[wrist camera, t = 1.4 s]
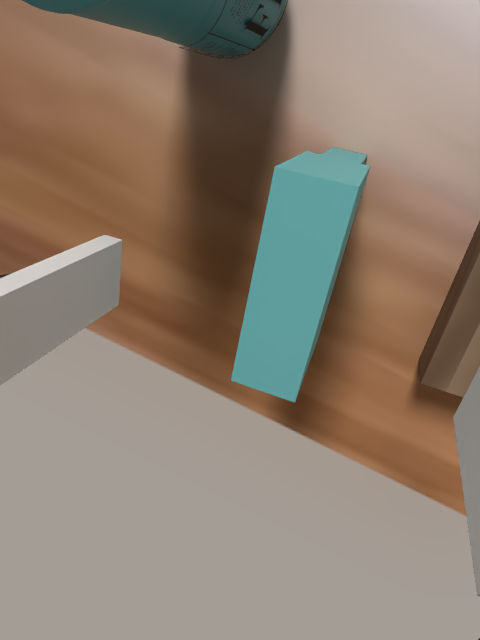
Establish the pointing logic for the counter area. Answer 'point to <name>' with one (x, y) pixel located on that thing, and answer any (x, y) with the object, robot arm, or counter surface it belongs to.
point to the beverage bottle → (184, 20)
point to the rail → (456, 330)
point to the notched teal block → (297, 267)
